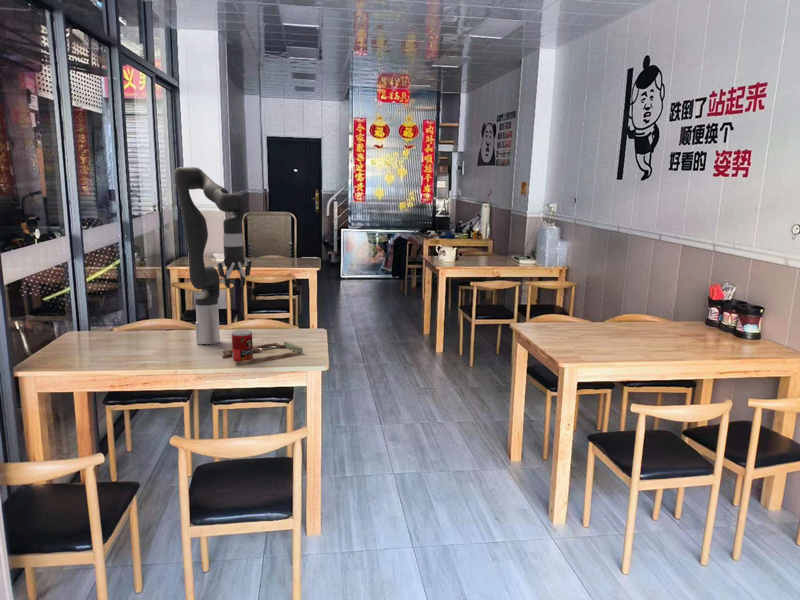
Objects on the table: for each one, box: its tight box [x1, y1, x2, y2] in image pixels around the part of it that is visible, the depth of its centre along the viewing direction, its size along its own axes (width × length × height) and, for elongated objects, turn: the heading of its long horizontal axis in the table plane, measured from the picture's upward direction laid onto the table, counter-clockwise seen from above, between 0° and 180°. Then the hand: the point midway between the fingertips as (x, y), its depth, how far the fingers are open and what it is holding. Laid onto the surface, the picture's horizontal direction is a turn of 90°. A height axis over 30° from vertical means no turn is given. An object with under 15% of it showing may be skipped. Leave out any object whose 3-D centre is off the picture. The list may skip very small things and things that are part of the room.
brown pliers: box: [221, 340, 304, 367], centre depth 244 cm, size 28×20×2 cm
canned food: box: [231, 329, 254, 362], centre depth 236 cm, size 8×8×11 cm
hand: (235, 287), depth 240 cm, fingers open, 5 cm apart
